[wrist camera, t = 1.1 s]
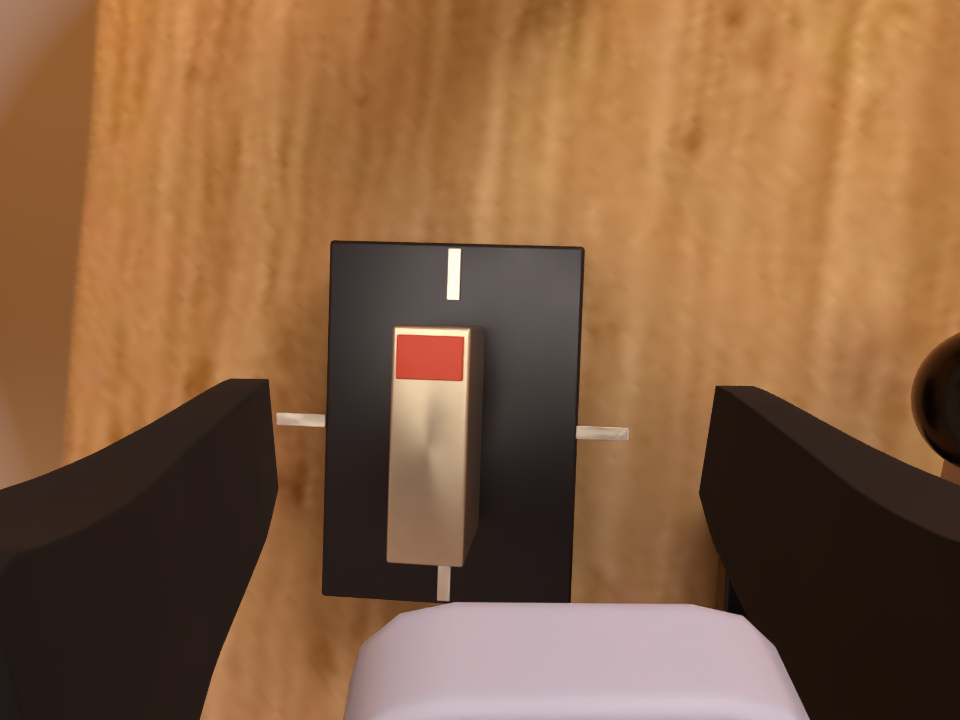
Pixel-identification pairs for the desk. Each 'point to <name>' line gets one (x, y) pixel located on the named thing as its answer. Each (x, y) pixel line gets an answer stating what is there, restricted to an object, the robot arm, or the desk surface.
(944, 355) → the lever
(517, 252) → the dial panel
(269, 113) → the desk surface
